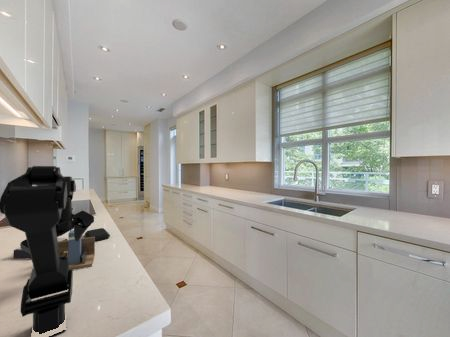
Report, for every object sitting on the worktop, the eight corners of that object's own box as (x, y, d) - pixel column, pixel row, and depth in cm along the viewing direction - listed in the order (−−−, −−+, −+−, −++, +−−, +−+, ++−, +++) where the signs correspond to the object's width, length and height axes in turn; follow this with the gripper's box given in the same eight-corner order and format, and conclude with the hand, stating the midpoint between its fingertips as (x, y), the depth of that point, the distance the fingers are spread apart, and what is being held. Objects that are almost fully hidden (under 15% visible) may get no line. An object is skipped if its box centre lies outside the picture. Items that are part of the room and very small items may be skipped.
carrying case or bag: (81, 236, 107) (86, 244, 96) (81, 230, 107) (86, 238, 96) (104, 231, 114) (110, 239, 104) (104, 226, 114) (110, 233, 103)
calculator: (68, 237, 96) (40, 248, 81) (67, 245, 96) (39, 259, 81) (45, 236, 96) (13, 248, 81) (45, 245, 96) (12, 258, 81)
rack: (92, 266, 76) (92, 245, 76) (44, 275, 69) (44, 253, 69) (94, 254, 85) (94, 236, 85) (52, 261, 78) (52, 242, 78)
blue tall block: (79, 262, 76) (79, 232, 76) (68, 264, 75) (68, 233, 74) (81, 258, 80) (81, 229, 80) (70, 260, 78) (70, 230, 78)
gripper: (71, 191, 71) (72, 224, 77) (2, 218, 54) (11, 258, 60) (95, 202, 69) (95, 236, 75) (31, 235, 52) (37, 275, 58)
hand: (63, 249), depth 67 cm, fingers open, 9 cm apart
